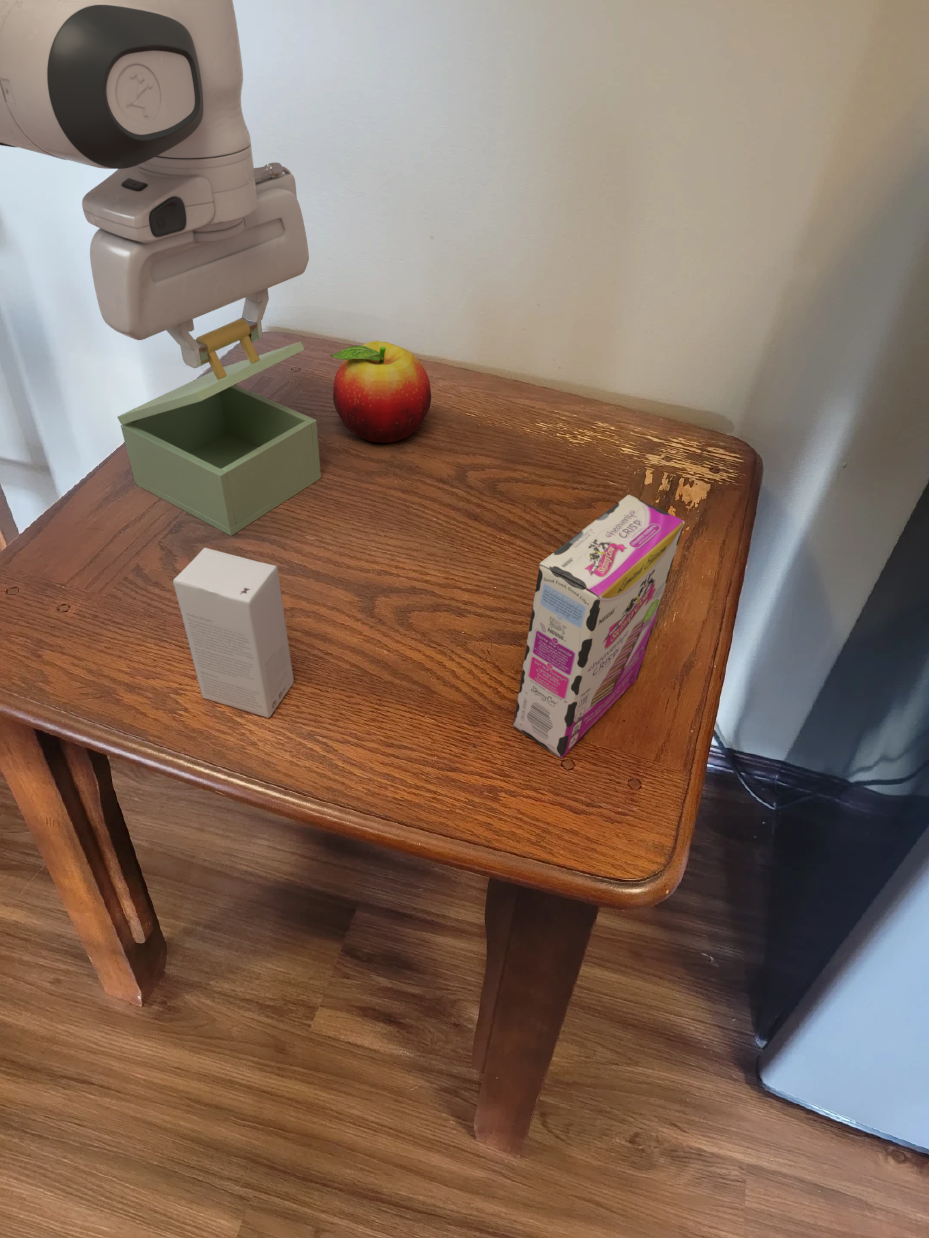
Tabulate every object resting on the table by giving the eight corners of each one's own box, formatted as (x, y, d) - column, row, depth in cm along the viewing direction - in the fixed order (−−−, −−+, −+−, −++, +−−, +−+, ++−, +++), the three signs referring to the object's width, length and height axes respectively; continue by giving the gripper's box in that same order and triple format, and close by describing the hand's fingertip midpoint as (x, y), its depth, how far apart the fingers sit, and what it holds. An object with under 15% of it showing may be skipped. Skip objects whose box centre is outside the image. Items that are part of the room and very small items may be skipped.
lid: (304, 349, 79) (283, 300, 77) (201, 401, 71) (174, 348, 69) (220, 376, 89) (199, 333, 87) (121, 424, 81) (95, 378, 79)
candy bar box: (564, 763, 63) (600, 598, 51) (510, 728, 65) (533, 562, 54) (642, 681, 69) (689, 518, 58) (591, 651, 71) (626, 489, 60)
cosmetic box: (295, 682, 67) (280, 565, 59) (269, 720, 64) (249, 603, 56) (228, 661, 69) (203, 544, 60) (199, 698, 66) (169, 580, 57)
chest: (321, 478, 88) (316, 420, 83) (231, 536, 80) (220, 475, 76) (228, 434, 93) (219, 377, 89) (135, 484, 86) (120, 425, 81)
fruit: (439, 451, 93) (442, 366, 86) (340, 459, 91) (335, 372, 84) (420, 402, 101) (421, 321, 94) (328, 409, 98) (323, 326, 92)
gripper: (264, 150, 74) (280, 306, 83) (61, 205, 61) (107, 381, 71) (318, 165, 72) (329, 324, 81) (118, 226, 59) (158, 405, 68)
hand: (224, 351), depth 76 cm, fingers closed on lid, 5 cm apart
